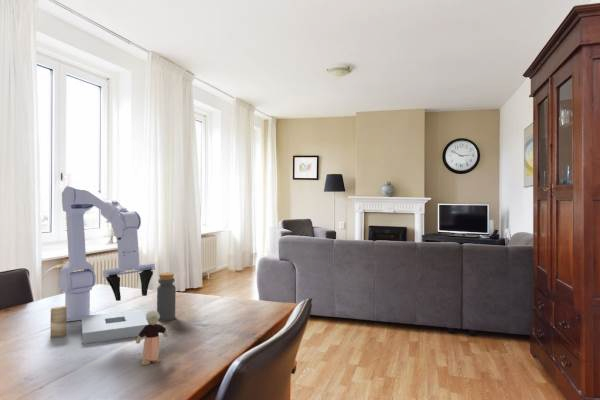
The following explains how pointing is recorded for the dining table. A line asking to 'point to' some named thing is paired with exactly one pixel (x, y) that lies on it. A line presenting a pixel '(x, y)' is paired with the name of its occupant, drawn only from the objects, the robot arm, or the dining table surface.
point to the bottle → (166, 297)
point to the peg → (58, 321)
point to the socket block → (112, 325)
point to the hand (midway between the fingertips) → (131, 298)
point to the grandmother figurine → (151, 338)
